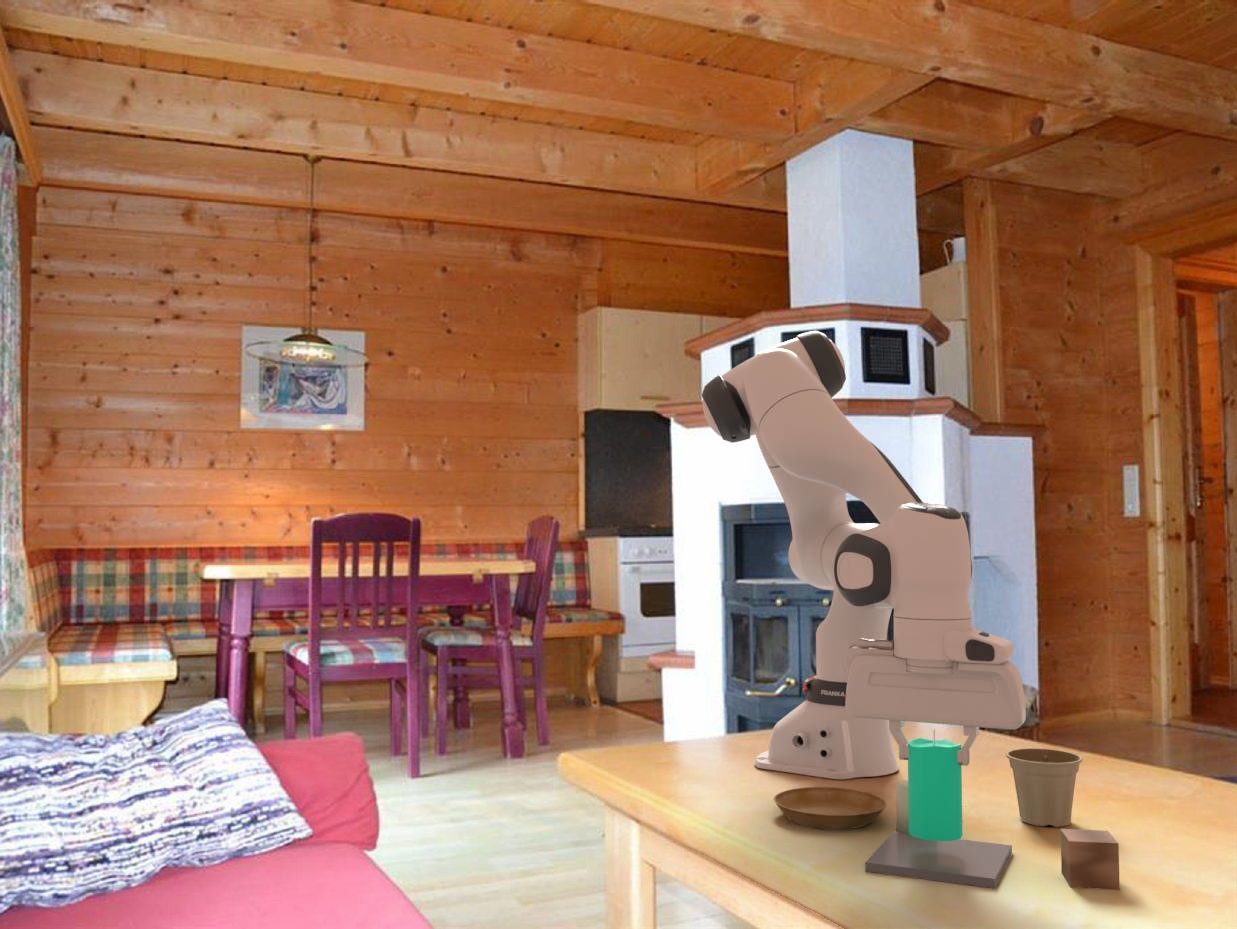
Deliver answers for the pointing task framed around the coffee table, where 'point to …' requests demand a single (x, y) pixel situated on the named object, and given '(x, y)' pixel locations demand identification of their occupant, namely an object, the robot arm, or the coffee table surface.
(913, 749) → the candle
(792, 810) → the plant saucer
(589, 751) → the coffee table surface
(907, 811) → the white rounded capsule
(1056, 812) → the flower pot
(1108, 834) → the walnut cube
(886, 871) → the coaster
